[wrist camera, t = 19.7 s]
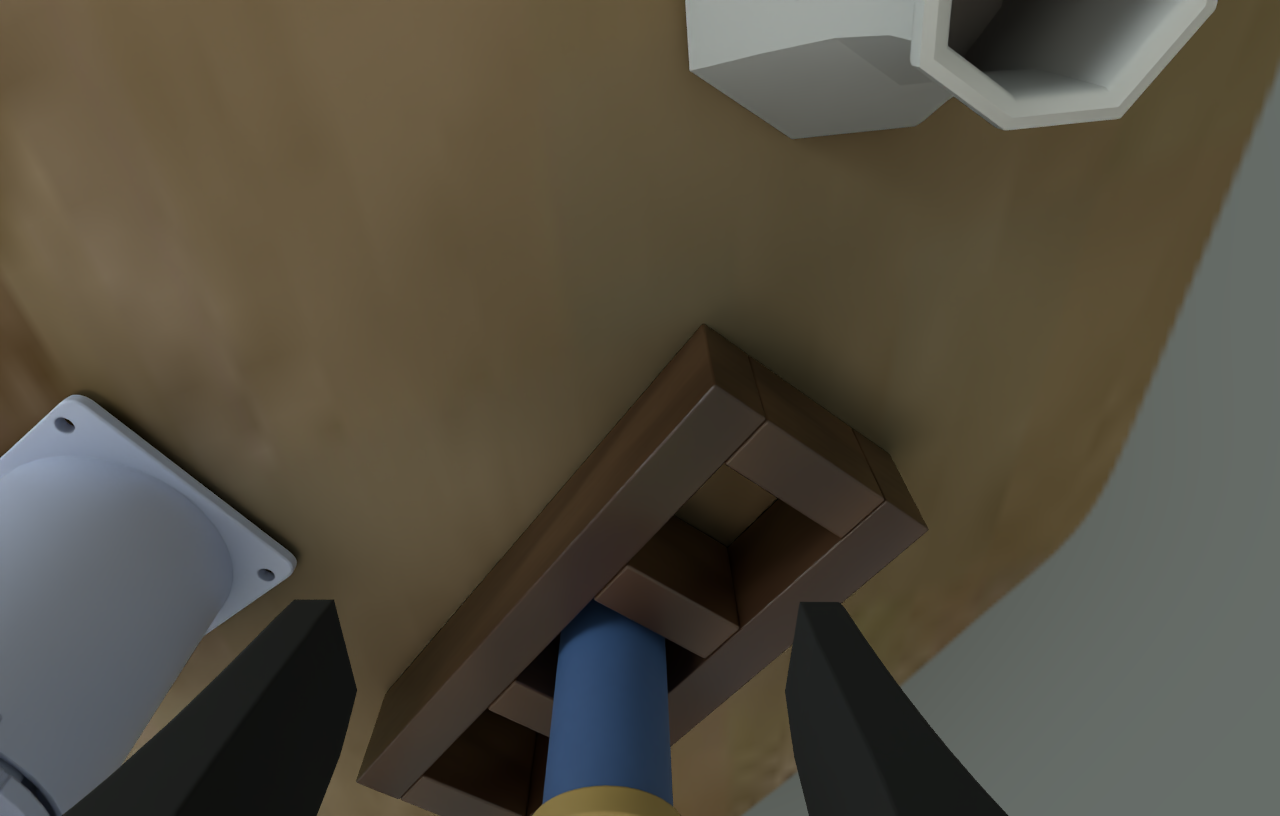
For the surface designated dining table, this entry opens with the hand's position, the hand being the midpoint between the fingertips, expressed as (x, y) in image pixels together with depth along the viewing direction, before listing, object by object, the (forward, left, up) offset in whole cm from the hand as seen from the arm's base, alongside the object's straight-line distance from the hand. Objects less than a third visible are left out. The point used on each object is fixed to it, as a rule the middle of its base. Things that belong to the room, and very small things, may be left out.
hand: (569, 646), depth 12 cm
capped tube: (-5, -7, -10) cm, 14 cm away
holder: (-5, -7, -10) cm, 14 cm away
